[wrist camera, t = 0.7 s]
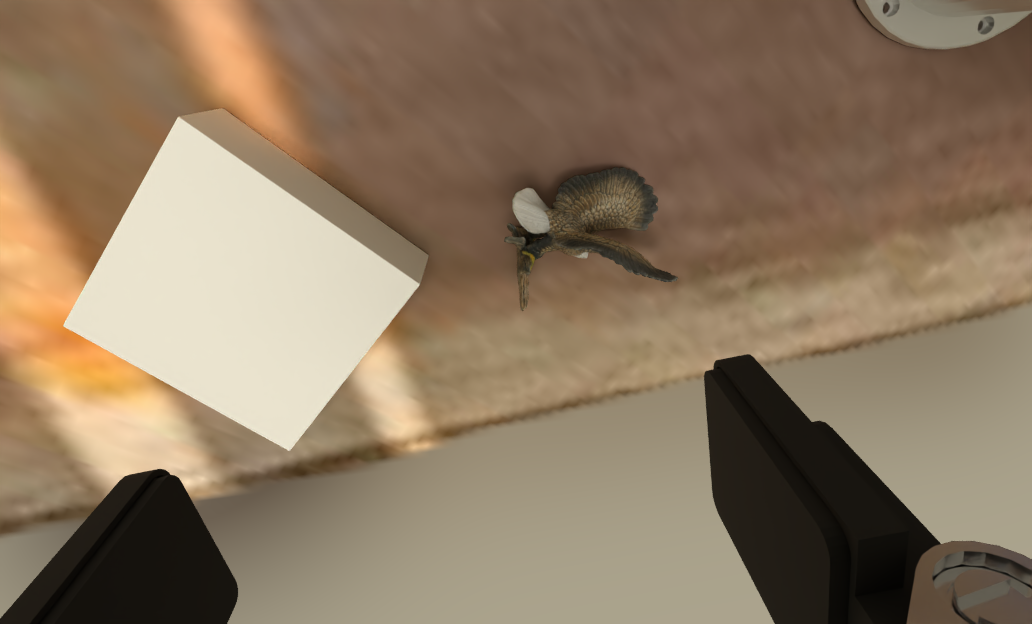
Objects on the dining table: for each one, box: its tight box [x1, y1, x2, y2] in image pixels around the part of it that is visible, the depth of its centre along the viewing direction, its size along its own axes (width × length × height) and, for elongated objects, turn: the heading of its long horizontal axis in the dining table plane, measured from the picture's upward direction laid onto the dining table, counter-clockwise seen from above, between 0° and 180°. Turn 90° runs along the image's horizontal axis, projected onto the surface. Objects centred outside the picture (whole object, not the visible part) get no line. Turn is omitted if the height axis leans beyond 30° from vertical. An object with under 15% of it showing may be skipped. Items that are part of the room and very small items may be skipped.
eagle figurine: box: [504, 167, 678, 311], centre depth 33 cm, size 8×7×9 cm
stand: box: [63, 108, 429, 451], centre depth 34 cm, size 14×14×5 cm
